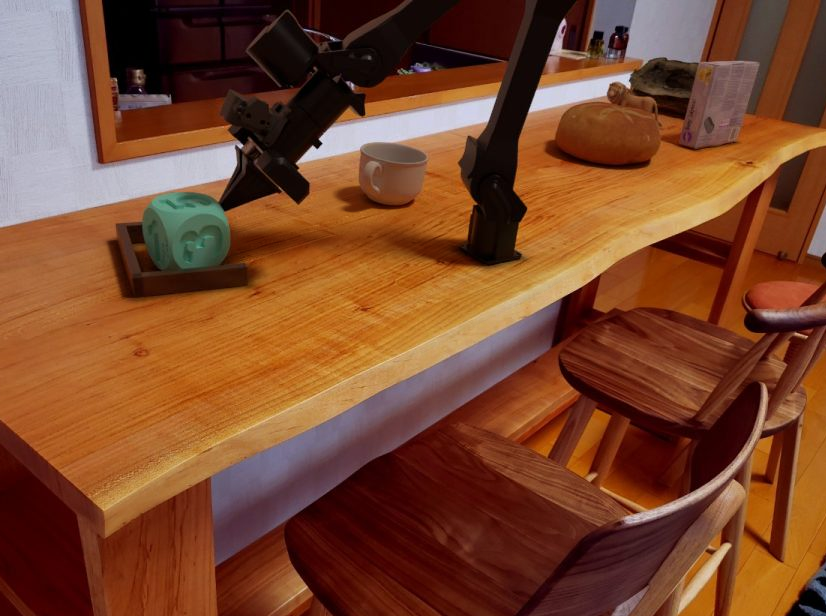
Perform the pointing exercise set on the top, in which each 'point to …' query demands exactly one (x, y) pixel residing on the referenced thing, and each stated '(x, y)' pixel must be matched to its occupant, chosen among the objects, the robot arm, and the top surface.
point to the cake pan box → (718, 103)
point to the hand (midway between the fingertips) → (220, 208)
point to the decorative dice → (185, 231)
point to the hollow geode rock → (665, 82)
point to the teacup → (391, 172)
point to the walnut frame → (173, 278)
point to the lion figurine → (630, 99)
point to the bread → (608, 133)
